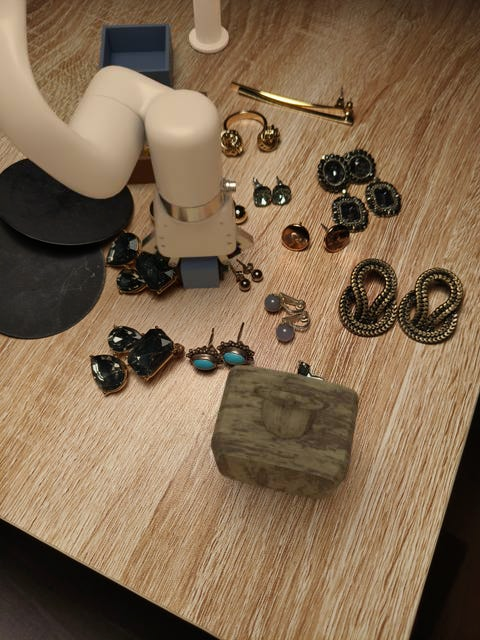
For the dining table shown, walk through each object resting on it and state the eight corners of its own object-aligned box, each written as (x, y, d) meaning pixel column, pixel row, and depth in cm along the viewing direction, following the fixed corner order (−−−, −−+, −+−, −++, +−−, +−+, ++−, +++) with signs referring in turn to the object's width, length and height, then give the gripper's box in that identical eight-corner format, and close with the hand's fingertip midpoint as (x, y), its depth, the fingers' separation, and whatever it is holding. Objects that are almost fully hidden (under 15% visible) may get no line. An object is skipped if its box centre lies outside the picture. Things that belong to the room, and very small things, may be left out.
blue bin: (105, 99, 100) (98, 73, 95) (109, 53, 105) (102, 25, 100) (172, 97, 100) (168, 70, 95) (172, 50, 105) (169, 23, 100)
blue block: (184, 289, 84) (180, 270, 79) (183, 258, 86) (180, 239, 82) (219, 287, 84) (218, 269, 79) (218, 257, 86) (217, 237, 82)
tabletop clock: (341, 437, 74) (383, 361, 52) (330, 510, 71) (369, 463, 48) (229, 412, 76) (222, 328, 53) (211, 482, 72) (196, 424, 50)
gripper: (263, 162, 70) (259, 247, 87) (118, 168, 70) (142, 252, 86) (267, 215, 67) (262, 292, 83) (115, 220, 67) (140, 297, 83)
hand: (201, 271), depth 85 cm, fingers closed on blue block, 5 cm apart
